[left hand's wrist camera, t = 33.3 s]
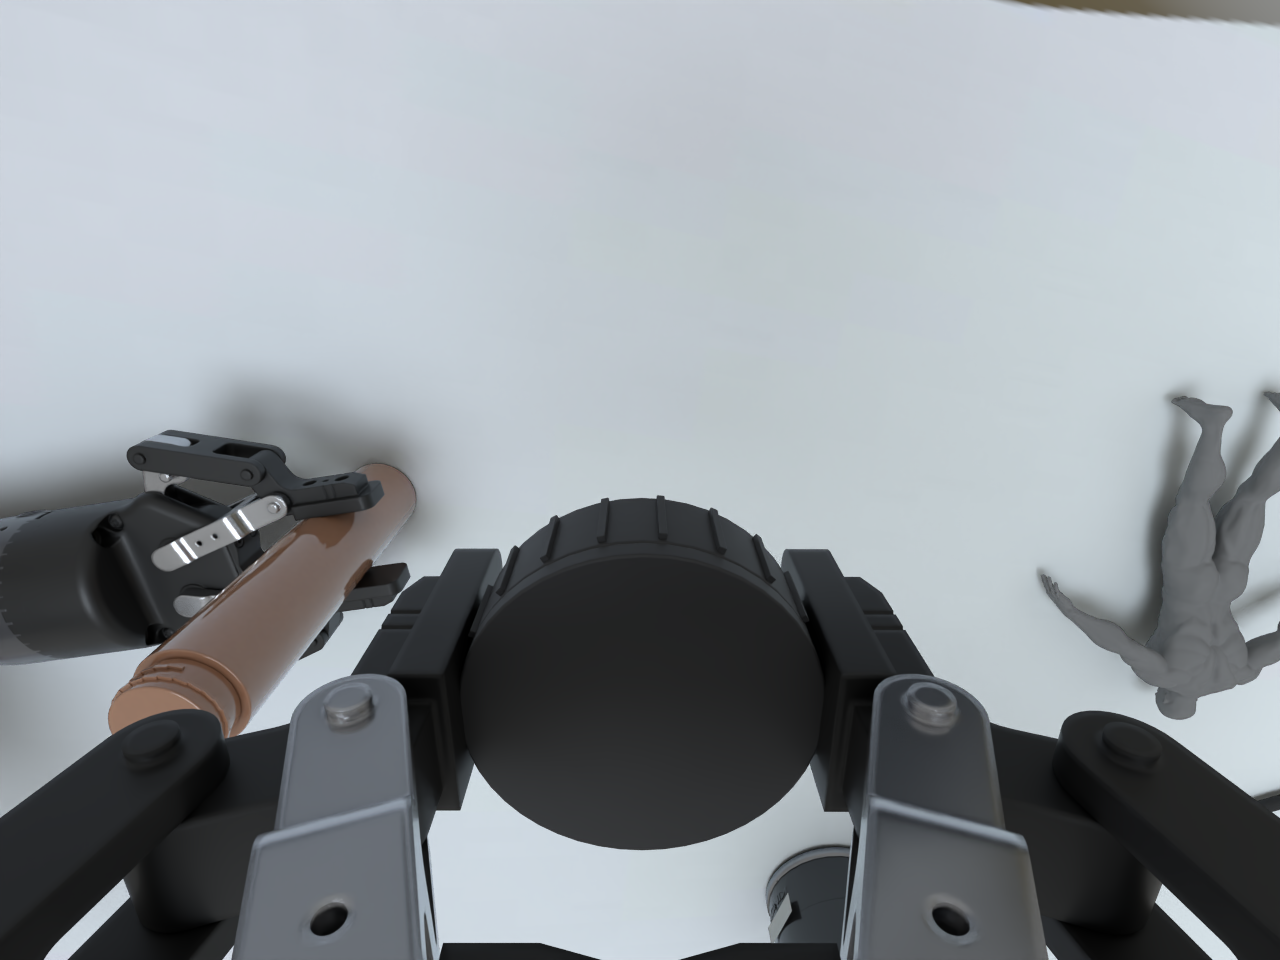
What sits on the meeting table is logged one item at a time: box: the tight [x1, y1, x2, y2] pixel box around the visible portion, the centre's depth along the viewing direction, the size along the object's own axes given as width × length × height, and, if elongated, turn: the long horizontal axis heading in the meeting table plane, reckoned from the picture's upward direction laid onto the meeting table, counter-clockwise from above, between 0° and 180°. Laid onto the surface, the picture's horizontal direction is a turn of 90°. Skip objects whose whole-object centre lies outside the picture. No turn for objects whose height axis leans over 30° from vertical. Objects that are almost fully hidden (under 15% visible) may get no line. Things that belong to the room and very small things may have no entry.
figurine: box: [1041, 392, 1280, 720], centre depth 39 cm, size 17×4×20 cm
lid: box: [459, 495, 825, 850], centre depth 10 cm, size 5×5×2 cm
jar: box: [108, 464, 416, 738], centre depth 31 cm, size 4×4×19 cm
